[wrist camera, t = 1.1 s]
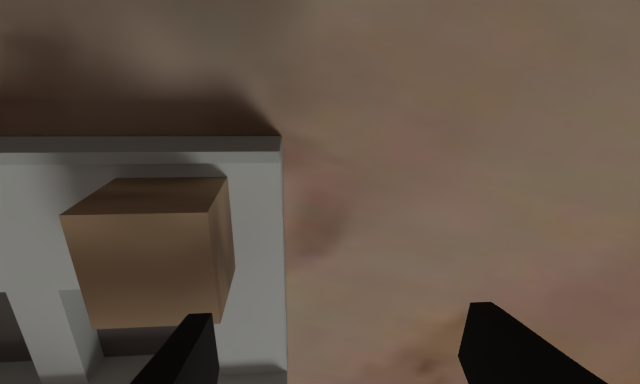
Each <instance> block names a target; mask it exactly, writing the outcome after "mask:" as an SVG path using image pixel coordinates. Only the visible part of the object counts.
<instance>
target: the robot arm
mask: <svg viewBox="0 0 640 384" xmlns="http://www.w3.org/2000/svg"><path fill="white" fill-rule="evenodd" d="M458 357H459V360H460V363H461V365H462V368H463V371H464V373H465V376H466V379H467V381H468V383H469V384H608V383H606V382H605V381H603V380H602V379H600V378H599V377H597V376H596V375H594V374H593V373H591V372H590V371H588V370H587V369H585V368H584V367H582V366H581V365H579V364H578V363H577V362H575V361H574V360H572V359H571V358H569V357H568V356H567V355H565V354H564V353H562V352H561V351H560V350H558V349H557V348H555V347H554V346H553V345H551V344H550V343H548V342H547V341H546V340H544V339H543V338H541V337H540V336H539V335H537V334H536V333H535V332H533V331H532V330H530V329H529V328H528V327H526V326H525V325H523V324H522V323H521V322H519V321H518V320H517V319H515V318H514V317H512V316H511V315H510V314H508V313H507V312H505V311H504V310H502V309H501V308H500V307H498V306H497V305H495V304H494V303H492V302H476V303H470V307H469V311H468V315H467V319H466V324H465V328H464V332H463V337H462V341H461V345H460V349H459V354H458ZM219 369H220V367H219V360H218V352H217V345H216V338H215V331H214V324H213V316H212V313H193V314H188V315H187V316H186V317H185V318H184V319H183V320H182V322H181V323H180V324H179V325H178V327H177V328H176V329H175V330H174V332H173V333H172V334H171V335H170V336H169V338H168V339H167V340H166V341H165V343H164V344H163V345H162V346H161V347H160V349H159V350H158V351H157V352H156V353H155V355H154V356H153V357H152V358H151V359H150V360H149V362H148V363H147V364H146V365H145V366H144V367H143V369H142V370H141V371H140V372H139V373H138V374H137V375H136V377H135V378H134V379H133V380H132V381H131V382H130V383H129V384H217V382H218V375H219Z"/></svg>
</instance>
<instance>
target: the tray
mask: <svg viewBox="0 0 640 384" xmlns="http://www.w3.org/2000/svg"><path fill="white" fill-rule="evenodd" d="M160 177H228V188H229V199H230V210H231V221H232V232H233V243H234V255H235V266H236V268H235V272H234V276H233V279H232V283H231V287H230V290H229V294H228V298H227V301H226V305H225V309H224V312H223V316H222V320H221V323H220V324H214V331H215V338H216V345H217V352H218V360H219V367H220V369H219V375H218V382H217V384H287V365H288V352H287V315H286V278H285V241H284V203H283V166H282V136H0V384H129V383H130V382H131V381H132V380H133V379H134V378H135V377H136V375H137V374H138V373H139V372H140V371H141V370H142V369H143V367H144V366H145V365H146V364H147V363H148V362H149V360H150V359H151V358H152V357H153V356H154V355H155V353H156V352H157V351H158V350H159V349H160V347H161V346H162V345H163V344H164V343H165V341H166V340H167V339H168V338H169V336H170V335H171V334H172V333H173V332H174V330H175V329H176V328H177V327H178V326H157V327H135V328H113V329H92V327H91V324H90V320H89V317H88V314H87V310H86V307H85V303H84V300H83V297H82V293H81V290H80V287H79V283H78V280H77V276H76V273H75V270H74V266H73V263H72V259H71V256H70V253H69V249H68V246H67V243H66V239H65V236H64V232H63V229H62V226H61V222H60V219H59V215H60V214H61V213H63V212H64V211H66V210H67V209H69V208H71V207H72V206H74V205H75V204H77V203H78V202H80V201H81V200H83V199H84V198H86V197H87V196H89V195H90V194H92V193H93V192H95V191H97V190H98V189H100V188H101V187H103V186H104V185H106V184H107V183H109V182H110V181H112V180H113V179H115V178H160Z"/></svg>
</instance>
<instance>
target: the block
mask: <svg viewBox="0 0 640 384" xmlns="http://www.w3.org/2000/svg"><path fill="white" fill-rule="evenodd" d="M59 219H60V222H61V226H62V229H63V232H64V236H65V239H66V243H67V246H68V249H69V253H70V256H71V259H72V263H73V266H74V270H75V273H76V276H77V280H78V283H79V287H80V290H81V293H82V297H83V300H84V303H85V307H86V310H87V314H88V317H89V320H90V324H91V327H92V329H113V328H135V327H157V326H178V325H179V324H180V323H181V322H182V320H183V319H184V318H185V317H186V316H187V315H188V314H193V313H212V316H213V324H220V323H221V320H222V316H223V312H224V309H225V305H226V301H227V298H228V294H229V290H230V287H231V283H232V279H233V276H234V272H235V268H236V266H235V255H234V243H233V232H232V221H231V210H230V199H229V188H228V177H160V178H115V179H113V180H112V181H110V182H109V183H107V184H106V185H104V186H103V187H101V188H100V189H98V190H97V191H95V192H93V193H92V194H90V195H89V196H87V197H86V198H84V199H83V200H81V201H80V202H78V203H77V204H75V205H74V206H72V207H71V208H69V209H67V210H66V211H64V212H63V213H61V214H60V215H59Z"/></svg>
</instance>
